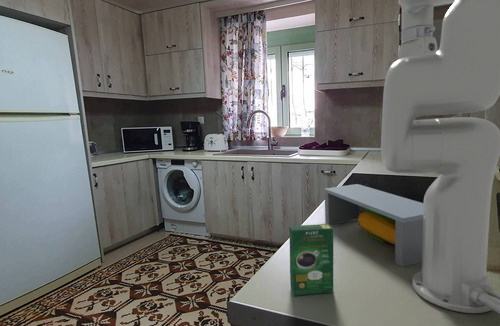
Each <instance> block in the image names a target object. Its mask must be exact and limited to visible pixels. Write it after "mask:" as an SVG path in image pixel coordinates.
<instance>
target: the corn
mask: <svg viewBox="0 0 500 326" xmlns="http://www.w3.org/2000/svg"><path fill="white" fill-rule="evenodd" d="M357 223H358V225H359V227H360V228H361V229H362V231H364V233H366V234H367V235H368V236H370V237H371V238H374V239H375V240H377V241H380V242H381V243H383V244H386V243H387V242H388V243H389V244H392V245H395V228H396V220H394V219H392V218H389V217H387V216H384V215H382V214H379V213H377V212H374V211H372V210H369V209H366V210H364V211H362V212H360V215H359V217H358V219H357Z"/></svg>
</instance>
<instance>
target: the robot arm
mask: <svg viewBox="0 0 500 326" xmlns="http://www.w3.org/2000/svg"><path fill="white" fill-rule="evenodd" d="M397 2H398V3H397V4H398V5H400V8H401V37H400V38H401V43H400V47H399V50H398V58H397V60H396V61H394V62H392V64H391V65H390V67H389V69H388V70H387V72H386V75H385V79H384V85H383V94H382V96H383V97H382V111H381V114H382V116H381V135H380V136H381V139H380V156H381V163H382V165H383V167H384V168H385V169H386V170H387V171H389V172H391V173H394V174H402V175H405V174H406V175H407V174H408V175H410V174H411V175H413V174H414V175H419V174H421V175H422V174H423V175H425V174H427V175H431V174H432V175H439V176H438V177H437V178H435V180H434V181H433V182H432V183H431V185H429V187H428V188H427V190H426V191H425V194H424V197H423V203H424V206H423V247H422V262H421V270H419V271H418V272H416V273H415V274H413V276H412V278H411V279H412V282H411V283H412V284H411V285H412V287H413V289H414V291H415V292H416V293H417V294H418V295H419V296H420V297H422V299H424V300H426V301H428V302H430V303H431V304H434V305H436V306H438V307H441V308H444V309H446V310H450V311H454V312H459V313H464V314H465V313H466V314H483V313H486V312H489V311H494V312H495V313H497V314H499V315H500V292H498V291H496V290H495V288H494V278H491V276H490V277H489V276H487V268H488V267H487V266H488V265H487V264H488V251H489V249H488V247H489V230H490V214H491V213H490V212H491V200H492V191H493V183H494V177H495V173H496V170H497V165H498V162H499V159H500V128H499V127H498V126H497V125H496V124H495V123H494V122H492V121H490V120H487V119H485V118H480V117H474V116H473V117H472V116H471V117H468V116H467V117H466V116H464V117H462V116H461V117H442V118H440V117H438V118H430V119H429V118H426V119H417V118H418V117H423V116H442V115H456V114H457V115H459V114H469V113H477V112H481V111H486V110H488V109H490V108H491V107H493V106H494V105H495V104H496V103H497V101H498V99H499V98H500V0H397ZM451 4H452V5H451ZM446 5H451V6H450V7H449V9H448V10H446V11H447V12H446V13H445V14H444V17H443V19H442V25H441V33H440V44H439V48H438V44H437V39H436V37H434V36H433V33H434V32H435V31H436V26H435V25H434V7H440V6H446Z"/></svg>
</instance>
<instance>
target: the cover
mask: <svg viewBox="0 0 500 326" xmlns="http://www.w3.org/2000/svg"><path fill="white" fill-rule="evenodd" d="M325 192H327V193H329V194H332V195H334V196H337V197H339V198H342V199H344V200H347V201H349V202H352V203H354V204H357V205H359V206H362V207H364V208H367V209H369V210H372V211H374V212H377V213H379V214H382V215H384V216H387V217H389V218H392V219H394V220H397V221H400V222H402V223H404V222H410V221H415V220H420V219H423V206H424V202H420V201H417V200H413V199H410V198H407V197H403V196H401V195H396V194H394V193H393V194H392V193H389V192H386V191H383V190H379V189H376V188H372V187H369V186H366V185H362V184H358V183H356V184H349V185H340V186H334V187H328V188H327V187H326V188H324V193H325Z"/></svg>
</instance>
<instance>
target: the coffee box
mask: <svg viewBox="0 0 500 326" xmlns="http://www.w3.org/2000/svg"><path fill="white" fill-rule="evenodd" d="M334 232H335V231H334V228H333V226H332V225H331V224H327V223H320V224H319V223H318V224H307V225H306V224H303V225H301V224H300V225H289V273H290V274H289V275H290V276H289V278H290V279H289V281H290V290H291V293H292V295H293V297H295V296H305V295H320V294H323V295H324V294H329V293H330V294H331V293H334Z"/></svg>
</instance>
